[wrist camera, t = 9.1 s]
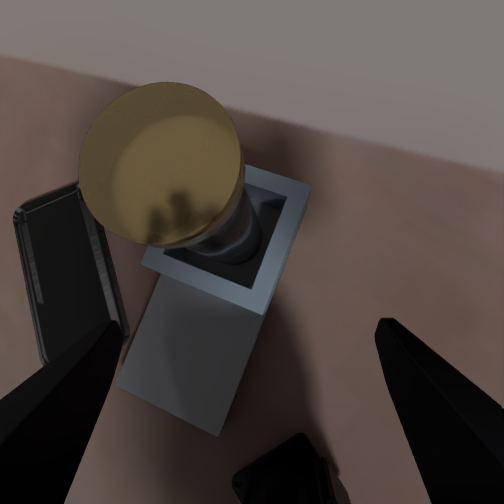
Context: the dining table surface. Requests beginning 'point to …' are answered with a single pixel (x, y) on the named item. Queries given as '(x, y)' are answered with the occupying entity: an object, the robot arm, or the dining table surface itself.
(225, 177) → the pin
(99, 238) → the phone
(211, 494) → the dining table surface
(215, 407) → the hitch socket
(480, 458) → the robot arm
